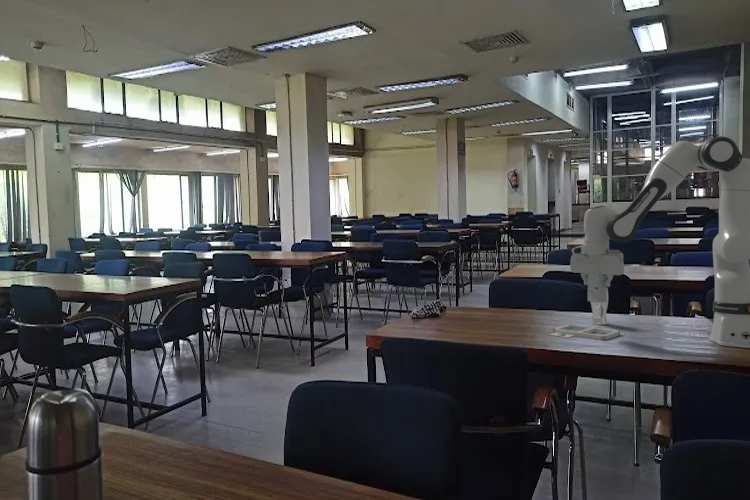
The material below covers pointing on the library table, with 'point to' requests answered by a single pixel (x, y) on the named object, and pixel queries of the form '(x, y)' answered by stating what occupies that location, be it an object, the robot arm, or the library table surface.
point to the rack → (584, 332)
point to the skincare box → (597, 287)
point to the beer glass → (599, 312)
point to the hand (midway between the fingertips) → (596, 285)
